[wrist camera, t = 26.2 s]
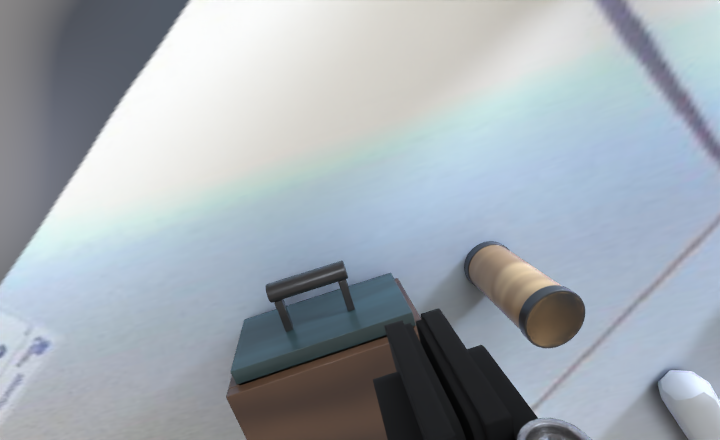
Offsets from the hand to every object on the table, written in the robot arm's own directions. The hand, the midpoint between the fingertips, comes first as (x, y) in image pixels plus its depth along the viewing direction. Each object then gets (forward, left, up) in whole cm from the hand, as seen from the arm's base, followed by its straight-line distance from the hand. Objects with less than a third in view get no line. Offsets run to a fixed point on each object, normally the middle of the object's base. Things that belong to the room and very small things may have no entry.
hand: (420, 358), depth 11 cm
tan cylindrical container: (+11, +11, -22) cm, 27 cm away
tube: (+42, +34, -22) cm, 59 cm away
